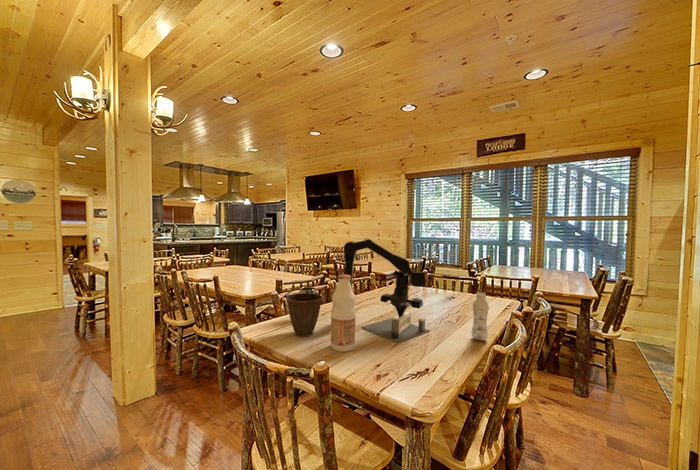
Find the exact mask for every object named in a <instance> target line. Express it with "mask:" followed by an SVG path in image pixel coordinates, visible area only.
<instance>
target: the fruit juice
mask: <svg viewBox="0 0 700 470" xmlns="http://www.w3.org/2000/svg"><path fill="white" fill-rule="evenodd" d="M350 278H351V276H350V275H344V274H339V275H338V276H337V280H338V281H337V286H336V287H335V290H334V293H333V294H332V296H331V302H332V308H331V312H330V318H331V319H330V347H331V349H332V350H334V351H336V352H341V353H342V352H350V351H352V350H354V349H355V346H356V316H357V315H356V308H355V304H356V293H354V290H353V288H352V287H353V286H352V287H351V284H350Z"/></svg>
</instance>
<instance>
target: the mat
mask: <svg viewBox="0 0 700 470" xmlns="http://www.w3.org/2000/svg"><path fill="white" fill-rule="evenodd" d="M397 319H398V318H396V317H391V318H387V319H383V320H381V321H376V322H373V323H370V324H365V325H362V326H361V329H364V330H366V331H368V332H370V333H373V334H375V335H378V336H380V337H382V338H385V339H387V340H389V341H392V342H393V343H396V344H400V343H402V342H405V341H407V340H410V339H413V338H416V337H418V336H421V335H423V334H427V333H429V332H430V329H427V328H425V331H423V332H421V331H418V326H419V325H417V324H412V323H411V325H410V326H409V327H408V328H406V329H405V330H404V331H403V332H402V333H400V334H399V338H397V339H394V338H392V337H391V335H392V320H397ZM403 324H404V321H403Z"/></svg>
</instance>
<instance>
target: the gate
mask: <svg viewBox="0 0 700 470" xmlns="http://www.w3.org/2000/svg"><path fill="white" fill-rule="evenodd" d="M396 319H397V320H399V334H400V333H402V332H403V331H404V330H405V329H406V328H408V327H409V326H410V325H411V324H412V311H407V312H404V314H403V315H402V316H401V317H400V318H399V317H398V318H396ZM403 321H404V324H403Z"/></svg>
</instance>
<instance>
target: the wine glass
mask: <svg viewBox="0 0 700 470" xmlns="http://www.w3.org/2000/svg"><path fill="white" fill-rule="evenodd" d="M299 293H311V294H316V287H314V286H303V287H300V288H299Z"/></svg>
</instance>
